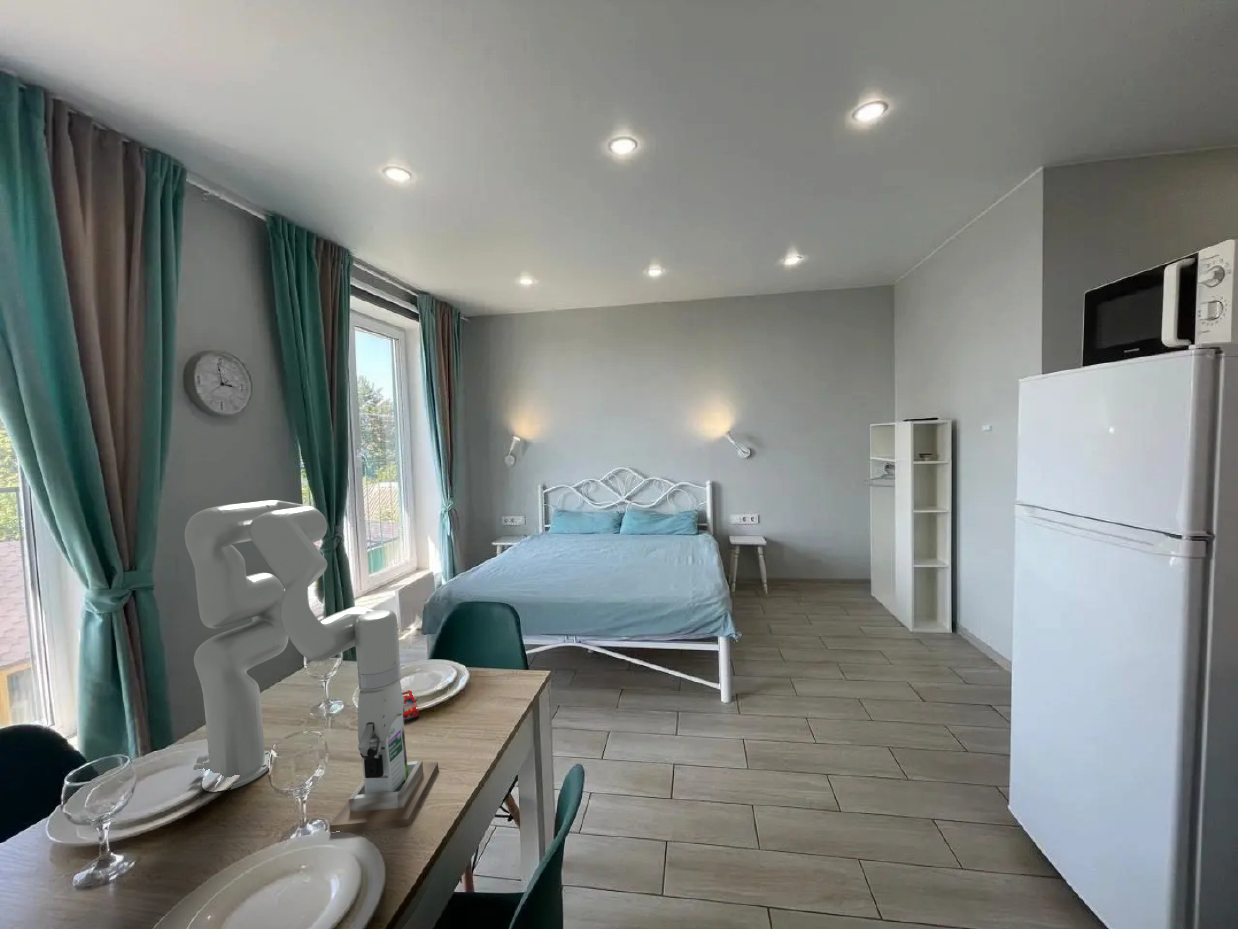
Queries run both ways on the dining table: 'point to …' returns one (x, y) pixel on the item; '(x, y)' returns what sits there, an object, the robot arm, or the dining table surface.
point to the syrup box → (390, 761)
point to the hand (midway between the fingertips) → (386, 760)
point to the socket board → (386, 803)
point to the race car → (409, 706)
